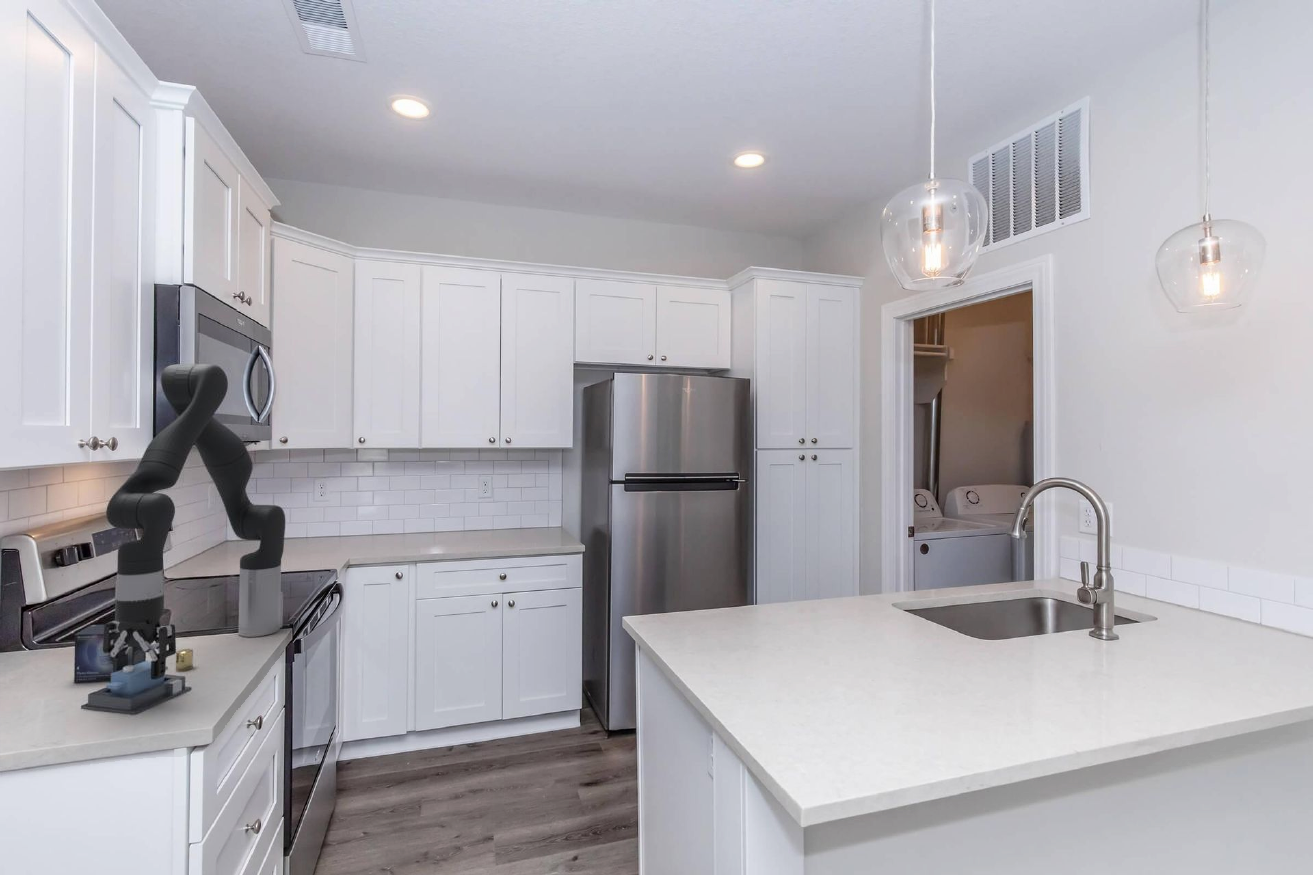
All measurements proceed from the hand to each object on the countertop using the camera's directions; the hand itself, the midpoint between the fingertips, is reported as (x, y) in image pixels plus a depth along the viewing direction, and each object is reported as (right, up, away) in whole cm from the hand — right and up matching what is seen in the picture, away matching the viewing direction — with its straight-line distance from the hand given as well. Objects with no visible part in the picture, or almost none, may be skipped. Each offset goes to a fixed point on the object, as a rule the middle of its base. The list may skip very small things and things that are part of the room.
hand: (139, 676), depth 127 cm
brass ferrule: (-3, -4, +16) cm, 16 cm away
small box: (-15, -4, +11) cm, 18 cm away
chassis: (0, -4, 0) cm, 4 cm away
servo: (0, -4, 0) cm, 4 cm away
